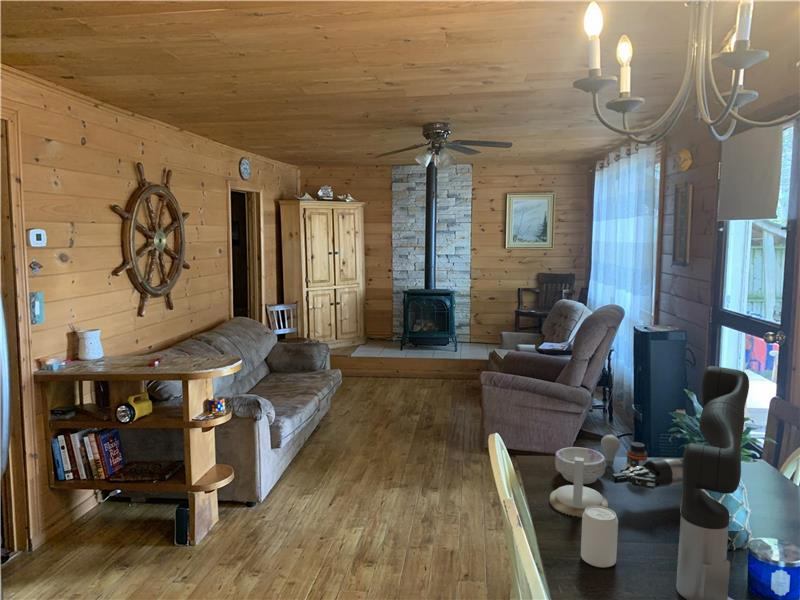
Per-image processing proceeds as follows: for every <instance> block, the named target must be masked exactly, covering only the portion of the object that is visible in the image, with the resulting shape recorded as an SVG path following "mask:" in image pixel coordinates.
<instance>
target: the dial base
mask: <svg viewBox="0 0 800 600" xmlns="http://www.w3.org/2000/svg"><path fill="white" fill-rule="evenodd" d="M556 490H557V489H555V490H552V492H551V493H550V496H549V503H550V505H551V507H552V508H553V509H554V510H556V511H558V512H560V513H562V514H564V513H565V514H564V515H567V514H568V516H570V515H572V516H571V517H575V516H577V517H576V518H582V515H583V513H584V512H585V509H577V508H572V507H569V506H566V505H564V504H562V503H560V502H559V501H558V500H557V499H556V497H555V496H556ZM608 503H609V502H608V500H607V499H606V498H605V497H604V496H603V495H602V505H601V506H602V507H606V508H608V507H609V504H608Z"/></svg>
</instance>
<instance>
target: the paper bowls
mask: <svg viewBox="0 0 800 600" xmlns="http://www.w3.org/2000/svg"><path fill="white" fill-rule="evenodd" d="M575 457H579V458H584V473H583V485H588V484H592V483H595V482H596V481H597V479H598V478H600V477H602V476H604V475H605V471H606V463H605V455H603V454H602V453H601V452H600V451H598V450H595V449H592V448H586V447H578V446H570V447H564V448H561V449H559V450H556V452H555V458H554V459H555V460H554V461H555V462H554V465H555V470H556V471H558V472H559V473H560V474H561V475H562V477H563V479H565V480H566V481H568V482H571V483H573V484H574V463H575Z"/></svg>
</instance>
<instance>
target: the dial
mask: <svg viewBox="0 0 800 600" xmlns="http://www.w3.org/2000/svg"><path fill="white" fill-rule="evenodd" d="M583 473H584V458H579V457H575V463H574V483H573V484H572V485H571V484H566V485H563V486H562V485H561V486H559V487H558V488H557V489H555V490H556V496H555V497H556V499H557V500H558V501H559V502H560V503H562V504H564V505H566V506H569V507H572V508H577V509H586V508H587V507H590V506H601V505H602V496H603V495H602V494H601V493H600V492H599V491H597V490H596V489H593V488H591V487H588V486H584V484H583Z"/></svg>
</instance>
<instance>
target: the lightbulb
mask: <svg viewBox="0 0 800 600" xmlns="http://www.w3.org/2000/svg"><path fill="white" fill-rule="evenodd" d="M600 447H601V449H602V451H603V453H604V457H605V466H607V467H608V468H610V467H614V461H615V459H616V455H617V453H618V452H619V449H620V448H621V442H620V440H619V439H618V437H617V436H615V435H613V434H606V435H604V436H603V437H602V438H601V441H600Z"/></svg>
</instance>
